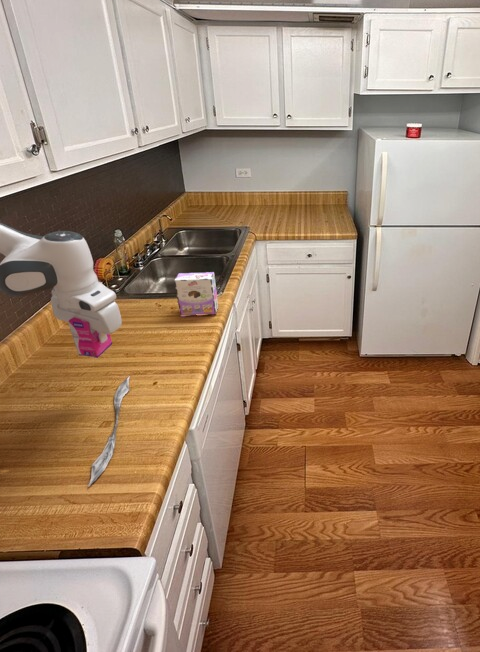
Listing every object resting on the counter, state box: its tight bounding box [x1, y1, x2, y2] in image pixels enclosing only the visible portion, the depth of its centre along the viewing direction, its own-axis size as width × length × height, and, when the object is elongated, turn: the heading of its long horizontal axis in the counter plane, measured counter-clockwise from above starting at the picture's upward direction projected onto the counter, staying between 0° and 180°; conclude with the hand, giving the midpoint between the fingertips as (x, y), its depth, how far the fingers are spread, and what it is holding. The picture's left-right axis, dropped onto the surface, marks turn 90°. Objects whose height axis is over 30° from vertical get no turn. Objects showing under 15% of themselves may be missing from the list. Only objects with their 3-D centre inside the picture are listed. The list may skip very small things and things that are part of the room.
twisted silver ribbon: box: [87, 375, 131, 488], centre depth 86 cm, size 32×1×5 cm
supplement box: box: [67, 317, 113, 359], centre depth 88 cm, size 6×6×12 cm
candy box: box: [173, 271, 219, 318], centre depth 128 cm, size 14×6×16 cm, turn 94°
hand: (92, 337), depth 88 cm, fingers closed on supplement box, 6 cm apart
